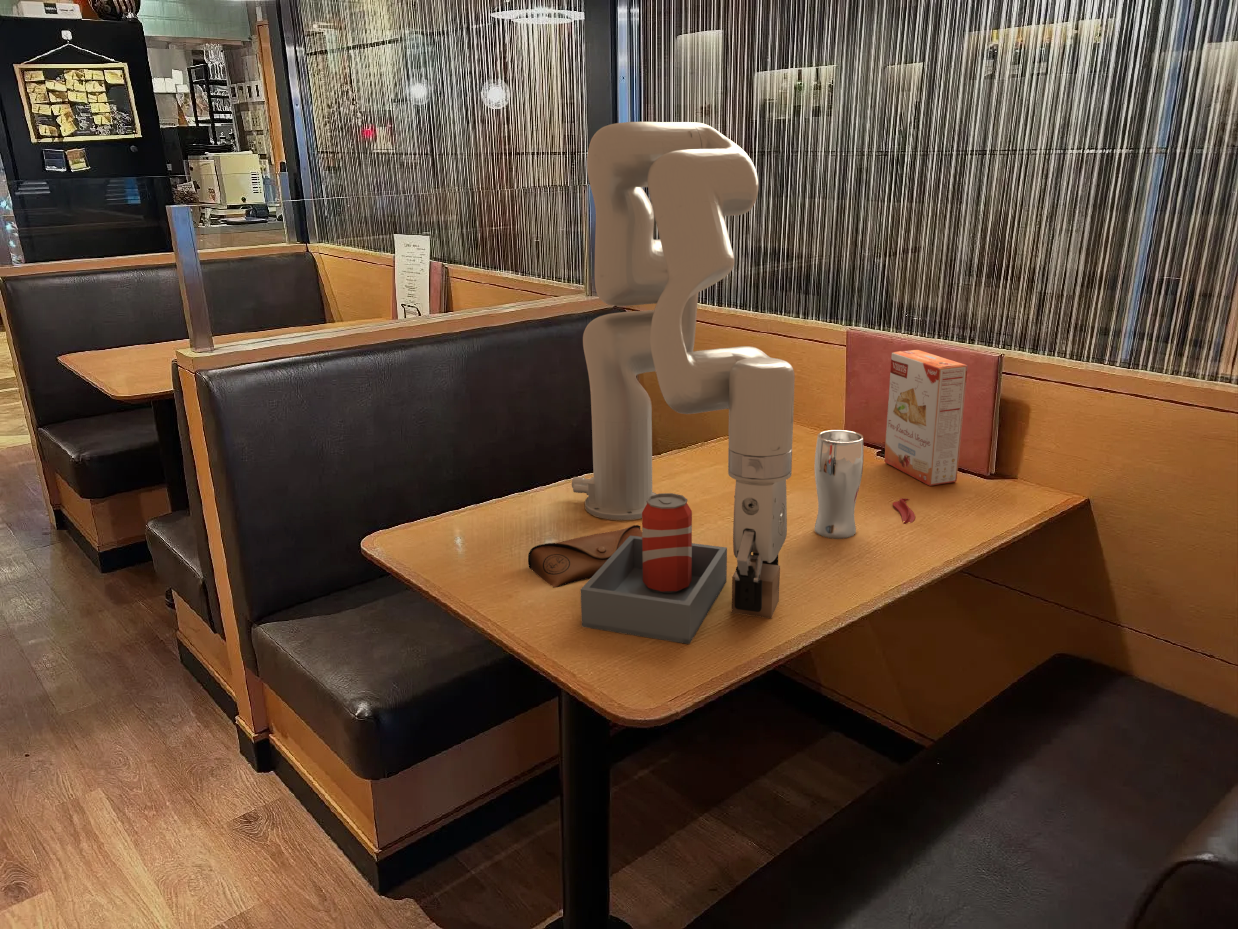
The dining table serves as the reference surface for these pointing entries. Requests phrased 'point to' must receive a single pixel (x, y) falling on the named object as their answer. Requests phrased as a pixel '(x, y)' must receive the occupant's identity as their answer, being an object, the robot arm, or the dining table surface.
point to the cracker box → (925, 416)
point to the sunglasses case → (576, 556)
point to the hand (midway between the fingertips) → (756, 592)
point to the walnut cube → (763, 591)
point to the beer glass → (837, 481)
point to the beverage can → (667, 543)
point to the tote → (652, 595)
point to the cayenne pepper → (904, 510)
